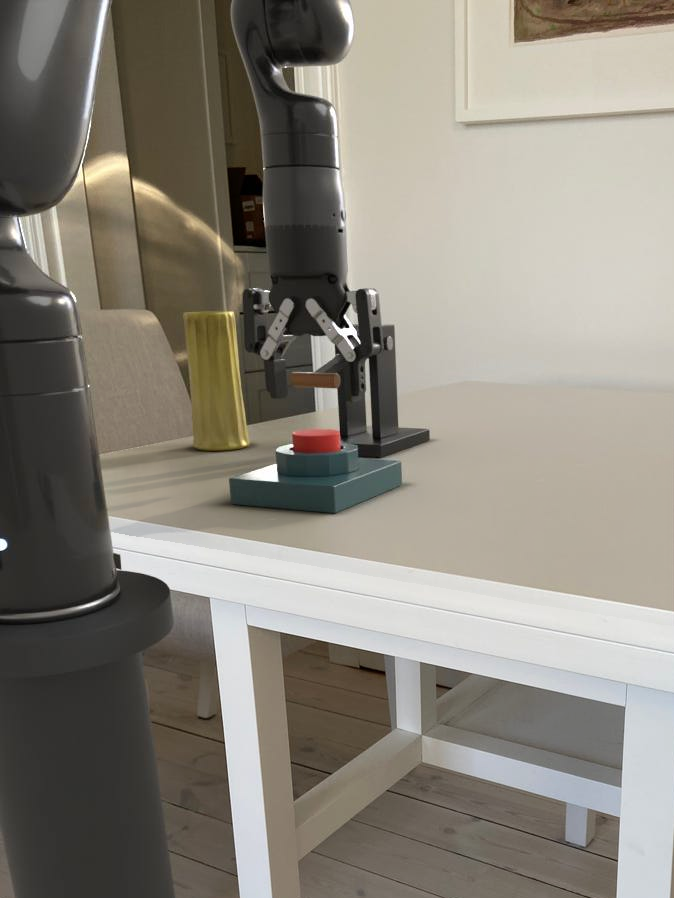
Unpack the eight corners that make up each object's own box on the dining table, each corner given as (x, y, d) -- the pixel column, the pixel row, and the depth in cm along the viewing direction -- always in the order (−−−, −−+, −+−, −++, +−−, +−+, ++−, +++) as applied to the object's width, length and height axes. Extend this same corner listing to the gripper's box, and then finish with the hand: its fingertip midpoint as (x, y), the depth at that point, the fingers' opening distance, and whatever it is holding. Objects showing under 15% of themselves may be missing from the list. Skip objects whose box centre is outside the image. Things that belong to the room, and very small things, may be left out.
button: (325, 458, 83) (324, 436, 82) (284, 455, 84) (282, 434, 84) (349, 450, 86) (348, 430, 86) (309, 448, 88) (308, 427, 87)
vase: (257, 442, 113) (245, 310, 109) (239, 451, 108) (226, 313, 103) (205, 442, 114) (191, 311, 109) (185, 451, 108) (169, 313, 103)
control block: (335, 513, 79) (332, 463, 78) (230, 504, 83) (226, 456, 82) (402, 485, 90) (400, 440, 88) (307, 478, 93) (304, 435, 92)
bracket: (381, 457, 103) (375, 328, 99) (306, 453, 106) (297, 327, 102) (430, 440, 114) (426, 322, 109) (360, 436, 117) (354, 322, 112)
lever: (335, 395, 97) (331, 371, 96) (292, 393, 99) (286, 370, 98) (393, 350, 107) (389, 327, 106) (352, 349, 109) (348, 327, 107)
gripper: (217, 223, 93) (233, 401, 98) (352, 219, 88) (361, 406, 93) (263, 226, 99) (276, 393, 105) (391, 222, 94) (397, 398, 100)
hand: (316, 399), depth 99 cm, fingers open, 8 cm apart
